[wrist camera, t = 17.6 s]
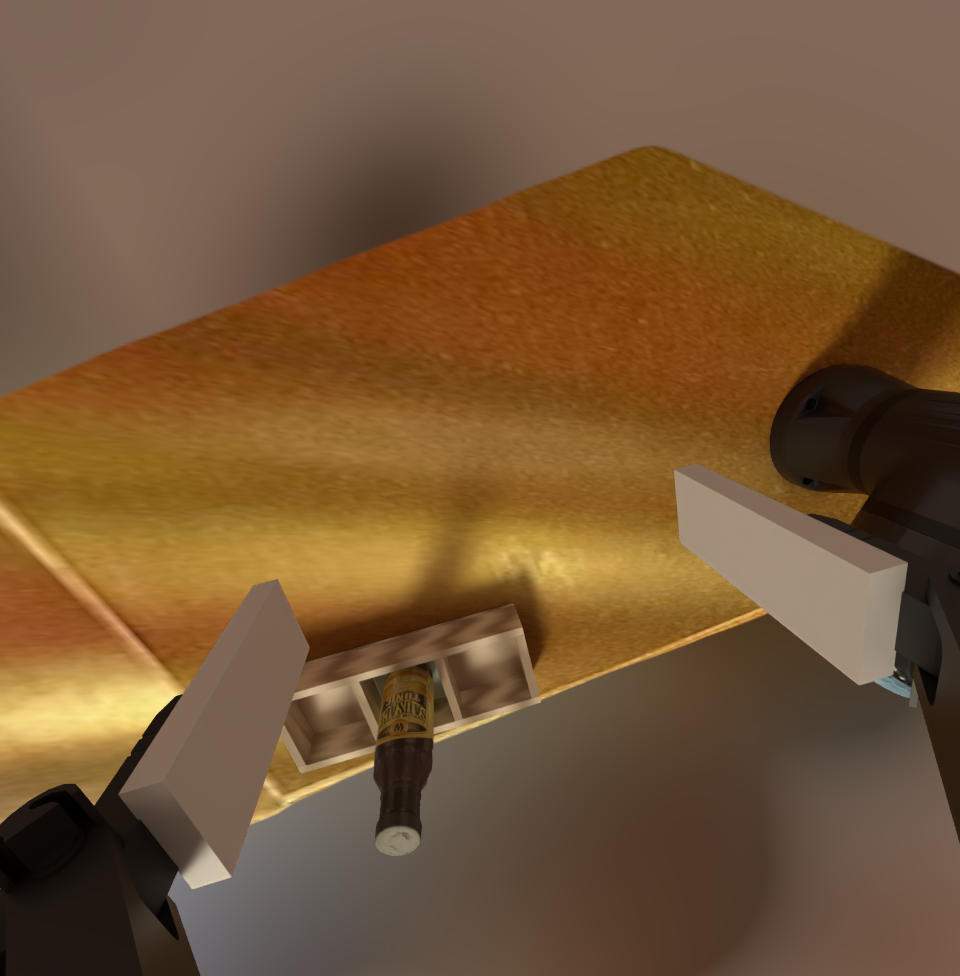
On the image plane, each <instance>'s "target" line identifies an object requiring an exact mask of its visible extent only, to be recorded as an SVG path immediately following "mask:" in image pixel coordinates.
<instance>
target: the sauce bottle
mask: <svg viewBox="0 0 960 976" xmlns="http://www.w3.org/2000/svg"><path fill="white" fill-rule="evenodd" d="M433 735H434V682H433V674H432V671H431V669H430V668H429V666H428V665H426V664H425V663H422V664H418V665H415V666H411V667H408V668H404V669H401V670H397V671H394V672H391V673H388V675H387V677H386V680H385V683H384V689H383V697H382V704H381V710H380V717H379V725H378V733H377V739H376V746H375V760H374V781H375V782H376V784H377V786H378V788H379V790H380V791H381V797H380V800H381V808H380V817H379V821H378V822H377V826H376V835H375V844H376V847H377V848H378V850H380V851H381V852H383V853H385V854H387V855H391V856H400V855H404V854H408V853H410V852H412V851H413V850H415V848H416V847H417V846H418V845H419V843H420V840H421V829H422V825H421V821H420V800H421V790H422V789H423V788H424V787H425V785H426V784H427V779H428V777H429V774H430V772H431V770H432V750H433Z"/></svg>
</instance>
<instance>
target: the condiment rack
mask: <svg viewBox="0 0 960 976" xmlns="http://www.w3.org/2000/svg"><path fill="white" fill-rule="evenodd" d="M422 663H425V664H426V665H428V666H429V668H430V669H431V671H432V674H433V682H434V734H436V733H439V732H443V731H446V730H449V729H453V728H456V727H460V726H463V725H466V724H470V723H473V722H476V721H480V720H483V719H486V718H490V717H493V716H497V715H500V714H503V713H507V712H510V711H513V710H517V709H520V708H523V707H527V706H530V705H534V704H537V703H540V702H541V701H540V697H539V693H538V689H537V685H536V680H535V676H534V672H533V668H532V664H531V660H530V656H529V652H528V648H527V644H526V640H525V636H524V632H523V628H522V625H521V622H520V619H519V616H518V614H517V611H516V608H515V605H514V603H511V604H508V605H504V606H501V607H497V608H494V609H490V610H487V611H483V612H480V613H476V614H473V615H469V616H466V617H462V618H459V619H455V620H452V621H448V622H445V623H441V624H438V625H434V626H430V627H427V628H423V629H420V630H416V631H413V632H409V633H406V634H402V635H399V636H395V637H392V638H388V639H385V640H381V641H378V642H374V643H371V644H367V645H364V646H360V647H357V648H353V649H350V650H346V651H343V652H339V653H336V654H332V655H329V656H325V657H322V658H318V659H315V660H311V661H308V662H305V663H304V666H303V669H302V672H301V675H300V678H299V681H298V684H297V687H296V690H295V693H294V696H293V699H292V702H291V705H290V707H289V710H288V713H287V716H286V719H285V722H284V725H283V728H282V731H281V734H280V736H281V738H282V740H283V741H284V743H285V745H286V747H287V749H288V751H289V752H290V754H291V756H292V758H293V760H294V761H295V763H296V765H297V767H298V769H299V770H300V772H301V773H305V772H308V771H311V770H315V769H318V768H321V767H325V766H328V765H332V764H335V763H338V762H342V761H345V760H348V759H352V758H355V757H359V756H362V755H365V754H369V753H372V752H375V746H376V739H377V733H378V725H379V717H380V710H381V704H382V697H383V689H384V683H385V680H386V677H387V675H388V673H391V672H394V671H397V670H401V669H404V668H408V667H411V666H415V665H418V664H422Z"/></svg>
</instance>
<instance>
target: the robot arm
mask: <svg viewBox="0 0 960 976" xmlns="http://www.w3.org/2000/svg"><path fill="white" fill-rule="evenodd" d="M770 452H771V457H772V461H773V463H774V466H775V468H776V469H777V471H778V472H779V473H780V475H781V476H782V477H784V478H785V479H786V480H787V481H789V482H791V483H793V484H795V485H798V486H800V487H803V488H805V489H808V490H812V491H817V492H833V493H857V494H866V495H869V497H868V499H867V501H866V502H865V504H864V505H863V507H862V508H861V509H860V511H859V512H858V514H857V515H856V517H855V518H854V520H853V521H852V523H851V524H850V525H849V524H846V523H844V522H842V521H840V520H837V519H834V518H829V517H825V516H821V515H816V514H812V513H811V514H808V515H805V514H803V513H801V512H799V511H797V510H795V509H792V508H790V507H788V506H786V505H784V504H782V503H780V502H777V501H775V500H773V499H771V498H769V497H767V496H765V495H763V494H760V493H758V492H756V491H754V490H752V489H750V488H748V487H745V486H743V485H741V484H739V483H737V482H735V481H733V480H730V479H728V478H726V477H724V476H722V475H720V474H718V473H716V472H713V471H711V470H709V469H707V468H705V467H703V466H701V465H698V464H692V465H689V466H685V467H681V468H678V469H674V475H675V487H676V500H677V512H678V524H679V537H680V543H681V544H682V545H684V546H685V547H686V548H687V549H689V550H690V551H691V552H692V553H694V554H695V555H696V556H697V557H699V558H700V559H701V560H702V561H704V562H705V563H706V564H707V565H709V566H710V567H711V568H712V569H714V570H715V571H716V572H717V573H719V574H720V575H721V576H722V577H724V578H725V579H726V580H728V581H729V582H730V583H731V584H733V585H734V586H735V587H736V588H738V589H739V590H740V591H741V592H743V593H744V594H745V595H746V596H748V597H749V598H750V599H751V600H753V601H754V602H755V603H756V604H758V605H759V606H760V607H761V608H763V609H764V610H765V611H766V612H768V613H769V614H770V615H771V616H773V617H774V618H775V619H776V620H778V621H779V622H780V623H781V624H783V625H784V626H785V627H786V628H788V629H789V630H790V631H791V632H793V633H794V634H795V635H797V636H798V637H799V638H800V639H802V640H803V641H804V642H805V643H806V644H808V645H809V646H810V647H811V648H813V649H814V650H815V651H816V652H818V653H819V654H820V655H821V656H823V657H824V658H825V659H826V660H828V661H829V662H830V663H831V664H833V665H834V666H835V667H837V668H838V669H839V670H840V671H842V672H843V673H844V674H845V675H846V676H848V677H849V678H850V679H852V680H853V681H854V682H855V683H857V684H858V685H862V684H865V683H868V682H872V681H874V682H876V683H877V684H879V685H881V686H882V687H884V688H886V689H888V690H890V691H892V692H894V693H896V694H899V695H901V696H904V697H908V698H910V700H909V706H910V707H917V701H918V699H919V701H920V704H921V708H922V711H923V715H924V718H925V722H926V725H927V729H928V732H929V736H930V739H931V743H932V746H933V750H934V754H935V757H936V761H937V764H938V768H939V771H940V775H941V778H942V782H943V786H944V789H945V793H946V796H947V800H948V803H949V807H950V810H951V814H952V817H953V821H954V825H955V828H956V832H957V835H958V839H959V842H960V393H958V392H948V391H939V390H928V389H920V388H917V387H914V386H912V385H910V384H908V383H906V382H904V381H902V380H900V379H898V378H896V377H894V376H892V375H889V374H887V373H885V372H883V371H881V370H879V369H876V368H873V367H868V366H860V365H835V366H831V367H828V368H825V369H822V370H820V371H818V372H816V373H814V374H812V375H811V376H809V377H808V378H806V379H805V380H804V381H803V382H801V383H800V384H799V385H798V386H797V387H796V388H795V389H794V390H793V391H792V392H791V393H790V394H789V396H788V397H787V398H786V400H785V401H784V403H783V404H782V406H781V408H780V409H779V411H778V413H777V416H776V418H775V421H774V424H773V427H772V431H771V437H770ZM871 513H872V514H871ZM876 515H877V516H876ZM881 517H882V518H881ZM886 519H887V520H886ZM891 521H892V522H891ZM896 523H897V524H896ZM901 525H902V526H901ZM906 527H907V528H906ZM911 529H912V530H911ZM916 531H917V532H916ZM926 535H927V536H926ZM931 537H932V538H931ZM936 539H937V540H936ZM946 543H947V544H946ZM951 545H952V546H951ZM309 649H310V647H309V645H308V643H307V641H306V639H305V636H304V634H303V632H302V630H301V628H300V626H299V624H298V622H297V619H296V617H295V615H294V613H293V611H292V609H291V607H290V605H289V602H288V600H287V598H286V596H285V594H284V592H283V590H282V588H281V586H280V583H279V581H278V579H276V580H272V581H269V582H265V583H261V584H258V585H254V586H253V587H252V588H251V590H250V592H249V593H248V595H247V596H246V598H245V599H244V601H243V602H242V604H241V605H240V607H239V609H238V610H237V612H236V613H235V615H234V616H233V618H232V619H231V621H230V622H229V624H228V625H227V627H226V629H225V630H224V632H223V633H222V635H221V636H220V638H219V639H218V641H217V642H216V644H215V646H214V647H213V649H212V650H211V652H210V653H209V655H208V656H207V658H206V659H205V661H204V663H203V664H202V666H201V667H200V669H199V670H198V672H197V673H196V675H195V676H194V678H193V680H192V681H191V683H190V684H189V686H188V687H187V689H186V690H185V692H184V693H183V694H182V695H178V696H176V697H174V698H173V699H172V700H171V701H170V702H169V703H168V704H167V705H166V706H165V707H164V708H163V709H162V710H161V711H160V712H159V713H158V714H157V715H156V716H155V718H154V719H153V721H152V722H151V723H150V725H149V726H148V728H147V729H146V731H145V732H144V734H143V735H142V739H140V740H139V741H138V742H137V744H136V745H135V747H134V748H133V750H132V751H131V756H129V757H127V759H126V760H125V762H124V763H123V764H122V766H121V767H120V769H119V770H118V772H117V773H116V775H115V776H114V778H113V779H112V781H111V782H110V784H109V785H108V786H107V788H106V789H105V791H104V792H103V794H102V795H101V797H100V798H99V800H98V801H97V803H96V804H95V806H94V805H93V804H92V803H91V802H90V800H89V799H88V798H87V797H86V796H85V794H84V793H83V792H82V791H81V790H80V788H79V787H78V786H77V785H76V784H63V785H60V786H57V787H54V788H52V789H49V790H47V791H45V792H43V793H42V794H40V795H38V796H37V797H35V798H33V799H31V800H30V801H28V802H27V803H26V804H24V805H23V806H22V807H20V808H19V809H18V810H16V811H15V812H14V813H12V814H11V815H10V816H9V817H8V818H7V819H5V820H4V821H3V822H2V823H1V824H0V888H1V889H0V976H200V973H199V970H198V967H197V965H196V962H195V959H194V956H193V953H192V950H191V947H190V944H189V941H188V938H187V936H186V933H185V930H184V927H183V924H182V921H181V918H180V915H179V912H178V910H177V907H176V905H175V903H174V902H173V901H172V900H171V898H170V897H169V896H168V895H167V894H168V892H169V890H170V887H171V885H172V883H173V880H174V878H175V876H176V874H177V872H178V871H179V873H180V874H181V875H182V876H183V878H184V879H185V880H186V882H187V883H188V884H189V885H190V887H191V888H192V889H194V888H197V887H201V886H204V885H208V884H211V883H214V882H217V881H221V880H224V879H227V878H230V877H232V875H233V872H234V869H235V866H236V863H237V860H238V857H239V854H240V851H241V848H242V846H243V843H244V840H245V837H246V834H247V831H248V828H249V825H250V822H251V819H252V816H253V813H254V810H255V807H256V804H257V801H258V799H259V796H260V793H261V790H262V787H263V784H264V781H265V778H266V775H267V772H268V769H269V766H270V763H271V760H272V757H273V754H274V752H275V749H276V746H277V743H278V740H279V737H280V734H281V731H282V728H283V725H284V722H285V719H286V716H287V713H288V710H289V707H290V705H291V702H292V699H293V696H294V693H295V690H296V687H297V684H298V681H299V678H300V675H301V672H302V669H303V666H304V663H305V660H306V658H307V655H308V652H309Z"/></svg>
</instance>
